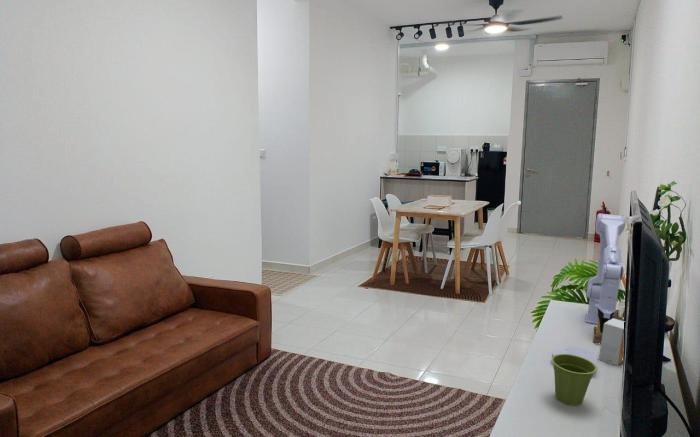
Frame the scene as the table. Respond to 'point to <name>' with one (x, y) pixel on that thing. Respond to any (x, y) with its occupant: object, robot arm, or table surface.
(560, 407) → the table surface
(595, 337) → the notched board
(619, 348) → the small box
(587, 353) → the wedge on round base
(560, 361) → the plant pot
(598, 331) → the ochre block
